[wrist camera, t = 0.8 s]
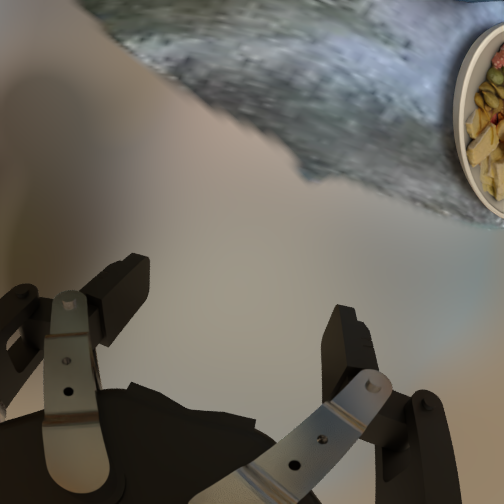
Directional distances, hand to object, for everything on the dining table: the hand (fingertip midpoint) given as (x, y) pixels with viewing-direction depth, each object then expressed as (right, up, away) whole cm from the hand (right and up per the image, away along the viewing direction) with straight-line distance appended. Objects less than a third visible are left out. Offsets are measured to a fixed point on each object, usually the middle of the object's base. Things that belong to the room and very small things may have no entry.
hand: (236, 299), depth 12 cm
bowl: (+40, +21, +12) cm, 47 cm away
